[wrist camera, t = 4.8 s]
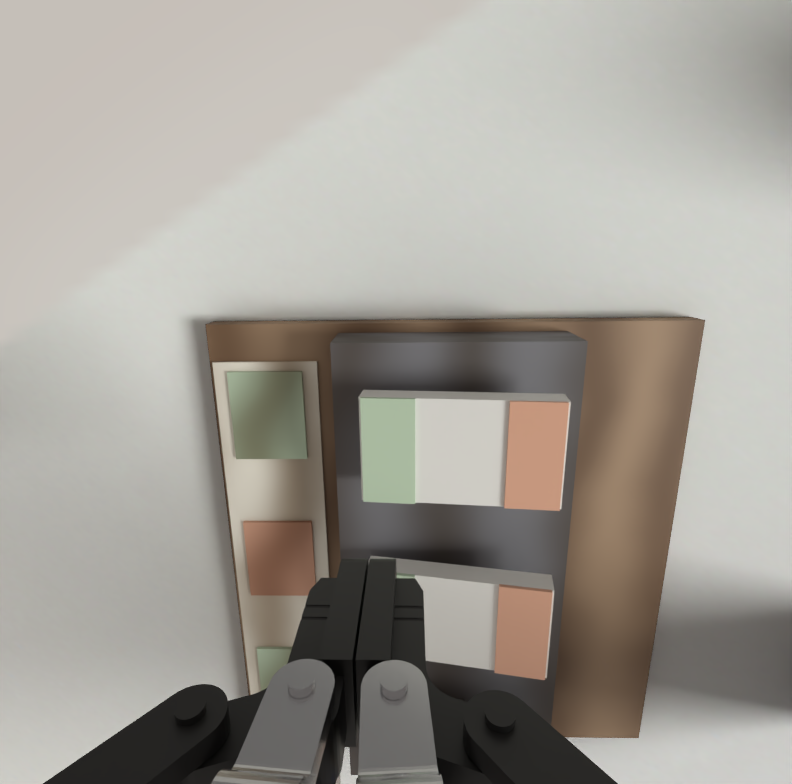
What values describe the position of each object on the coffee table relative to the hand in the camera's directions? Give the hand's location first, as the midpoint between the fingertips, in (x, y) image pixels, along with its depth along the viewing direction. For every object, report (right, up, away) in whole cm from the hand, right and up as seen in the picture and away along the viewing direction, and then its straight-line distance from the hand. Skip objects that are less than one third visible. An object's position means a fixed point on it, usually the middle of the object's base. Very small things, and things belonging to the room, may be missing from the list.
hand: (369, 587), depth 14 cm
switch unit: (+4, -4, +17) cm, 18 cm away
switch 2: (+4, -6, +11) cm, 13 cm away
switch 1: (+4, +3, +9) cm, 10 cm away
